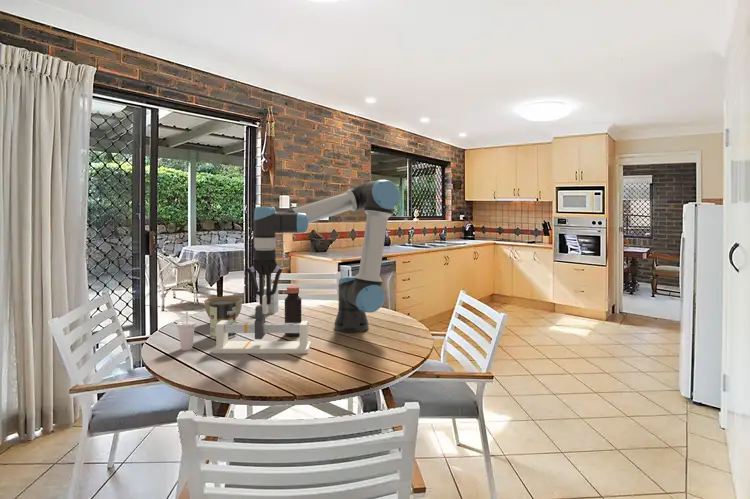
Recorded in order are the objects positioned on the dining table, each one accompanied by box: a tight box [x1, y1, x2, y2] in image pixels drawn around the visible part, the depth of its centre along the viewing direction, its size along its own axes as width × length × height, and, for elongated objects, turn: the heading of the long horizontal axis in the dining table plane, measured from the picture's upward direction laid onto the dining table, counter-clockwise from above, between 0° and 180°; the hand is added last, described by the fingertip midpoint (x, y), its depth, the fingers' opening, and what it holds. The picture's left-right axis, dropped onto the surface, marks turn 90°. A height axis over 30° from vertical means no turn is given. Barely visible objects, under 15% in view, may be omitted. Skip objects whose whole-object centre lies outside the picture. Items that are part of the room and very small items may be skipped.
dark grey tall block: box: [254, 304, 266, 340], centre depth 158 cm, size 2×7×11 cm, turn 2°
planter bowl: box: [204, 296, 243, 319], centre depth 194 cm, size 16×16×11 cm
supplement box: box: [264, 285, 279, 314], centre depth 218 cm, size 7×7×13 cm
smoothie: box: [176, 311, 197, 351], centre depth 157 cm, size 6×6×14 cm
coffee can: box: [209, 300, 238, 340], centre depth 174 cm, size 10×10×14 cm
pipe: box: [224, 322, 300, 334], centre depth 158 cm, size 29×3×3 cm, turn 92°
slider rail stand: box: [211, 320, 312, 354], centre depth 158 cm, size 34×10×10 cm, turn 92°
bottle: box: [284, 285, 302, 338], centre depth 177 cm, size 7×7×20 cm
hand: (265, 313), depth 158 cm, fingers closed
